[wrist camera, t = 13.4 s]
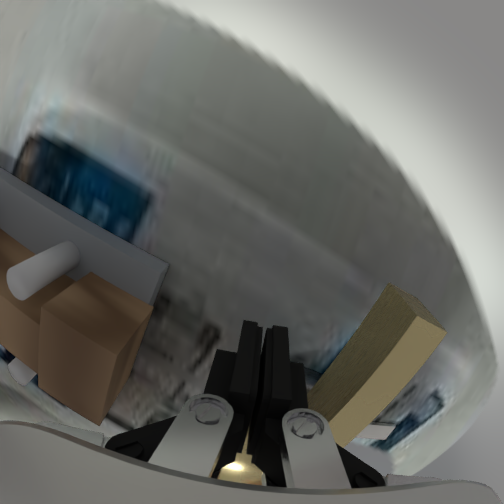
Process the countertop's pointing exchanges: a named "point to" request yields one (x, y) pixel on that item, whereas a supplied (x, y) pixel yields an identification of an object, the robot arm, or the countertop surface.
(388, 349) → the gold lever handle
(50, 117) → the countertop surface
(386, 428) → the base
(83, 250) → the rack
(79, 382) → the tan wooden bar
